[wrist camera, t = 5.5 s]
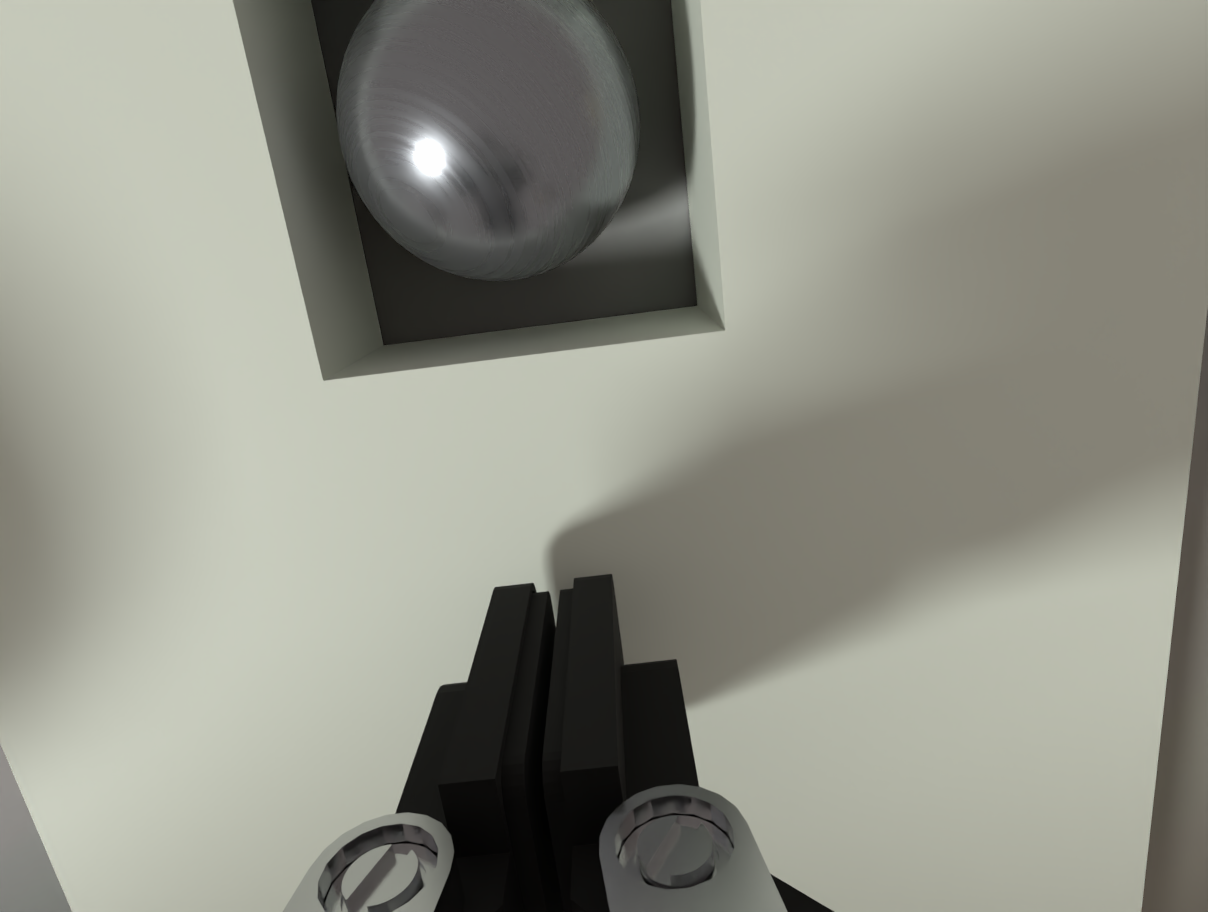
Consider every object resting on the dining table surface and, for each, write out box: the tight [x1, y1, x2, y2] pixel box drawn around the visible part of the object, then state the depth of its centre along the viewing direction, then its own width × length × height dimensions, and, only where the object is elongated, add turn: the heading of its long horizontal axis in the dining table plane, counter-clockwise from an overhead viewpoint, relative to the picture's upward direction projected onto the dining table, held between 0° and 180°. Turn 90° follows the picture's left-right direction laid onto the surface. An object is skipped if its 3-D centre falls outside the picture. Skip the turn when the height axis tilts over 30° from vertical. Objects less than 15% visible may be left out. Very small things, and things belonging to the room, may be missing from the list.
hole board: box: [0, 0, 1208, 912], centre depth 13 cm, size 30×18×3 cm, turn 7°
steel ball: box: [336, 0, 640, 281], centre depth 10 cm, size 4×4×4 cm
